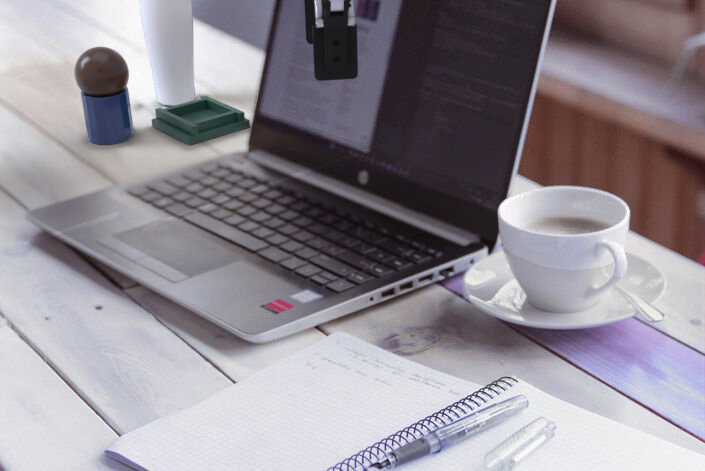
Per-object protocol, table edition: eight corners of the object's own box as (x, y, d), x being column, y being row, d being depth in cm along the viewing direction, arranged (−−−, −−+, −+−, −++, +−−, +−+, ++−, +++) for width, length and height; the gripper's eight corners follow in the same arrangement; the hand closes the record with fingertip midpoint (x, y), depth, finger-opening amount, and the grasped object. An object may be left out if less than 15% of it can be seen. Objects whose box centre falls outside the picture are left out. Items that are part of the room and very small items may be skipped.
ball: (93, 111, 113) (85, 58, 110) (69, 98, 117) (61, 47, 114) (141, 99, 116) (135, 47, 113) (116, 87, 121) (109, 37, 118)
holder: (189, 145, 115) (187, 128, 114) (152, 126, 122) (149, 110, 121) (250, 127, 121) (249, 110, 120) (211, 109, 127) (209, 93, 126)
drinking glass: (171, 112, 126) (158, -1, 119) (141, 101, 130) (126, -9, 123) (211, 99, 130) (200, -11, 124) (180, 89, 135) (168, -18, 128)
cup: (101, 148, 115) (94, 101, 113) (80, 136, 119) (72, 90, 116) (142, 136, 118) (136, 90, 116) (120, 125, 122) (114, 80, 120)
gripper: (266, -183, 74) (278, 33, 82) (273, -166, 59) (287, 98, 67) (361, -186, 75) (365, 28, 83) (392, -170, 60) (393, 92, 67)
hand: (330, 59), depth 75 cm, fingers open, 9 cm apart
